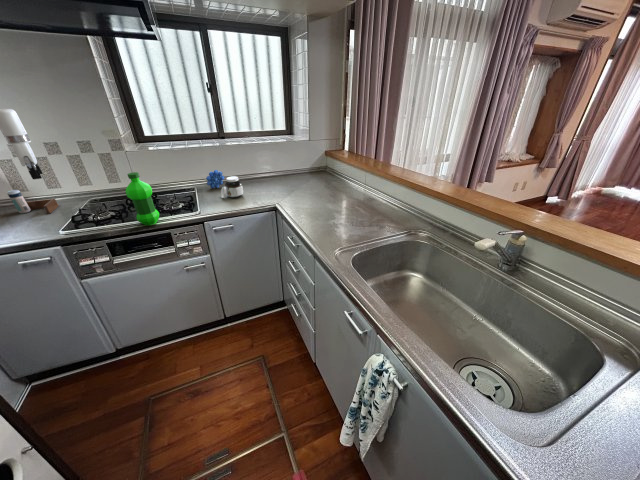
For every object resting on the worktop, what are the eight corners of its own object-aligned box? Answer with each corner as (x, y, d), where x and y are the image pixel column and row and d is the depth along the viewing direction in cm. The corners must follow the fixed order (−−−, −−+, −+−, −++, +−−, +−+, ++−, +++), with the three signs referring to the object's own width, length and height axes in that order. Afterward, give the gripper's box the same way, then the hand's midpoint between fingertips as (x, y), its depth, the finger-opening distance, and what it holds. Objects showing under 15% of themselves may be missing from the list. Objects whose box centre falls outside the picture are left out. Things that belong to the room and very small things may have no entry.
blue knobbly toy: (225, 184, 184) (221, 167, 178) (226, 187, 178) (223, 170, 172) (207, 187, 179) (203, 169, 173) (208, 190, 174) (204, 172, 168)
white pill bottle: (33, 209, 147) (20, 188, 141) (29, 212, 143) (16, 191, 137) (21, 211, 145) (8, 190, 139) (17, 214, 141) (4, 193, 135)
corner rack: (13, 218, 137) (8, 210, 135) (24, 209, 147) (19, 202, 144) (50, 213, 143) (46, 205, 140) (58, 205, 152) (54, 198, 150)
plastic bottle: (166, 219, 136) (151, 171, 124) (151, 228, 127) (133, 177, 115) (149, 217, 138) (132, 169, 125) (133, 226, 129) (113, 176, 117)
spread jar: (245, 196, 165) (243, 177, 159) (231, 201, 157) (228, 182, 151) (232, 192, 170) (229, 174, 165) (218, 197, 162) (214, 179, 156)
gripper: (8, 137, 124) (28, 173, 132) (3, 143, 112) (26, 182, 121) (30, 135, 128) (48, 171, 137) (28, 141, 117) (48, 179, 125)
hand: (38, 176), depth 129 cm, fingers open, 9 cm apart
